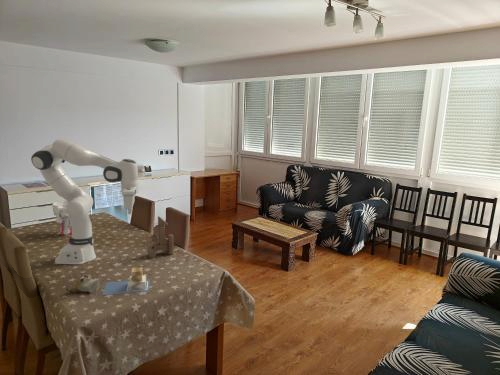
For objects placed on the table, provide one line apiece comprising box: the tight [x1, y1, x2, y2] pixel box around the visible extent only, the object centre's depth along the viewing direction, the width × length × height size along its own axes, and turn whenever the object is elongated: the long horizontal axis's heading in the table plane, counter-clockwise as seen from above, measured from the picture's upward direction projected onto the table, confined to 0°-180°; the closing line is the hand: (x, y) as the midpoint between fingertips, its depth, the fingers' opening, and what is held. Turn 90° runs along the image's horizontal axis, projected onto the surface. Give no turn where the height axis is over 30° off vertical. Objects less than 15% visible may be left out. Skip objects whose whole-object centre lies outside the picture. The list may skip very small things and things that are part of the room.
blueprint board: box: [101, 279, 151, 296], centre depth 182 cm, size 22×14×1 cm, turn 103°
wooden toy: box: [146, 215, 174, 259], centre depth 227 cm, size 16×7×25 cm, turn 122°
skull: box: [52, 199, 72, 237], centre depth 259 cm, size 25×19×23 cm
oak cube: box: [130, 266, 144, 281], centre depth 182 cm, size 5×5×5 cm
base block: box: [128, 274, 147, 290], centre depth 183 cm, size 8×8×4 cm
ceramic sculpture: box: [66, 274, 100, 294], centre depth 178 cm, size 11×9×15 cm
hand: (130, 213), depth 198 cm, fingers closed
